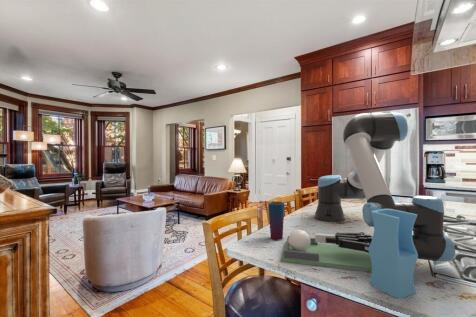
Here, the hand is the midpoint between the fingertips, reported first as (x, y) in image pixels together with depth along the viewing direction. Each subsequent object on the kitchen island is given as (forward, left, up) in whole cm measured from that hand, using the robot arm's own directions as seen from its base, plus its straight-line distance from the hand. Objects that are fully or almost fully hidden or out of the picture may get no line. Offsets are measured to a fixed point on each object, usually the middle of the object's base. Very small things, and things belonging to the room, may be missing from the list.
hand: (315, 237), depth 83 cm
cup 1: (+4, -20, -6) cm, 21 cm away
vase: (-6, +24, -6) cm, 26 cm away
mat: (-5, +4, -6) cm, 9 cm away
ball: (+5, -3, -1) cm, 6 cm away
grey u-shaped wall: (+3, -2, -5) cm, 6 cm away
